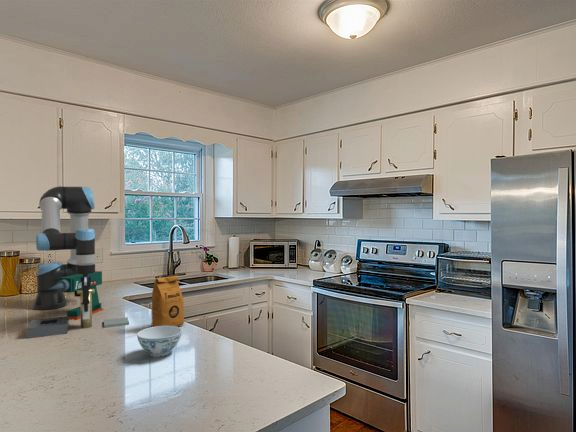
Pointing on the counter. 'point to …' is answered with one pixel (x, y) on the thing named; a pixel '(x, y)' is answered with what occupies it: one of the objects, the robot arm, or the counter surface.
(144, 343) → the chinaware
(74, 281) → the power tool
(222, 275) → the counter surface
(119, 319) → the pad
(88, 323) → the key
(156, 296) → the coffee package
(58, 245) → the robot arm
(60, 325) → the chuck block
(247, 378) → the counter surface
